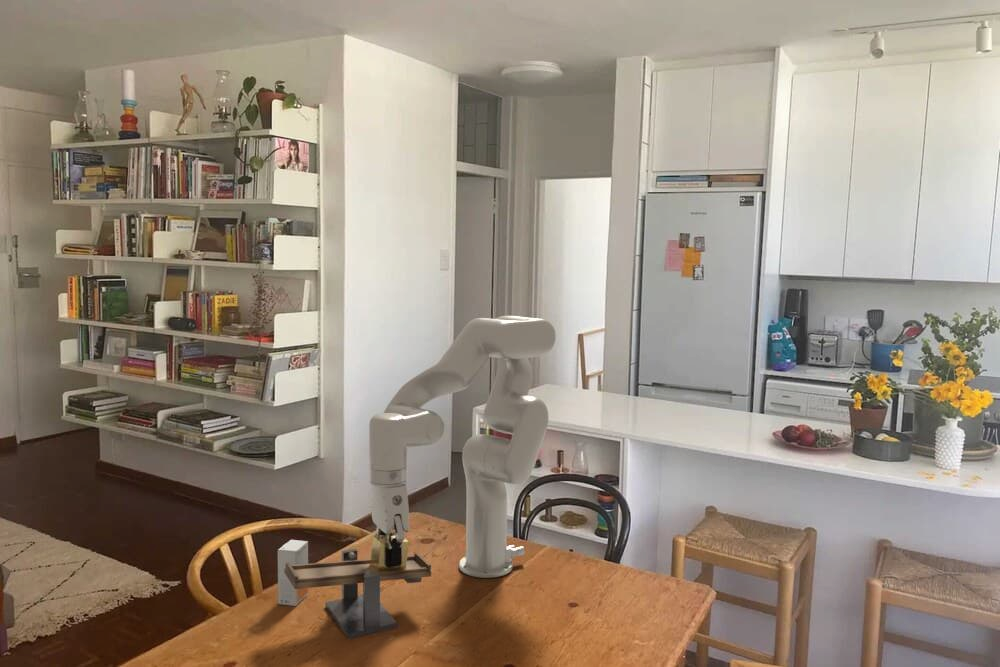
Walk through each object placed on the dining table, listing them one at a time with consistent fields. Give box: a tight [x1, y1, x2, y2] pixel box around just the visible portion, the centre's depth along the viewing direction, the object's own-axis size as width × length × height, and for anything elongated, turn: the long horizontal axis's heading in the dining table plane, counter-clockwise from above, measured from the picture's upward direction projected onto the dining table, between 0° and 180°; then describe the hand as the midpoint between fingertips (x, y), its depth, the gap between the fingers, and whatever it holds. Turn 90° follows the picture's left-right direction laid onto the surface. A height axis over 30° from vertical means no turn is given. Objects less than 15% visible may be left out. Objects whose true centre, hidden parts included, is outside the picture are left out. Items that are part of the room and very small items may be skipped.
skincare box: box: [277, 539, 309, 607], centre depth 165 cm, size 6×4×12 cm
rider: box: [370, 535, 410, 571], centre depth 160 cm, size 6×5×6 cm
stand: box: [325, 548, 398, 640], centre depth 158 cm, size 10×15×12 cm, turn 29°
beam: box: [284, 552, 432, 589], centre depth 157 cm, size 28×11×4 cm, turn 119°
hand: (389, 560), depth 160 cm, fingers closed on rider, 4 cm apart
